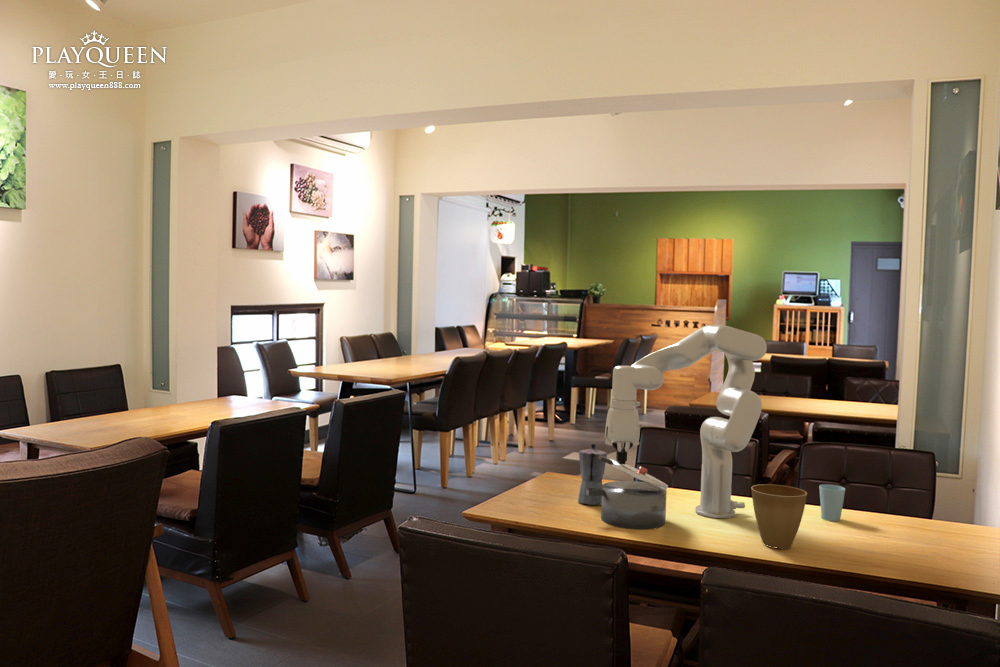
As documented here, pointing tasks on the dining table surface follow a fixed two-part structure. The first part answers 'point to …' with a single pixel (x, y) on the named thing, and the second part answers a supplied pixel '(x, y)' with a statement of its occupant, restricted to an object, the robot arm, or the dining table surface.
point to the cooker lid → (635, 473)
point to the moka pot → (591, 474)
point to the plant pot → (778, 513)
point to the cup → (831, 501)
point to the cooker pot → (631, 504)
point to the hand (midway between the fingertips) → (621, 463)
